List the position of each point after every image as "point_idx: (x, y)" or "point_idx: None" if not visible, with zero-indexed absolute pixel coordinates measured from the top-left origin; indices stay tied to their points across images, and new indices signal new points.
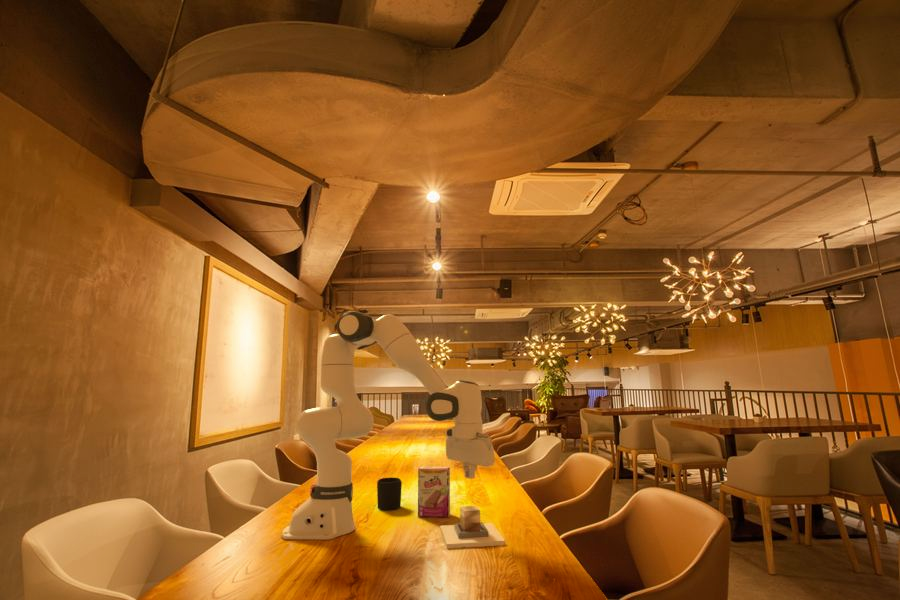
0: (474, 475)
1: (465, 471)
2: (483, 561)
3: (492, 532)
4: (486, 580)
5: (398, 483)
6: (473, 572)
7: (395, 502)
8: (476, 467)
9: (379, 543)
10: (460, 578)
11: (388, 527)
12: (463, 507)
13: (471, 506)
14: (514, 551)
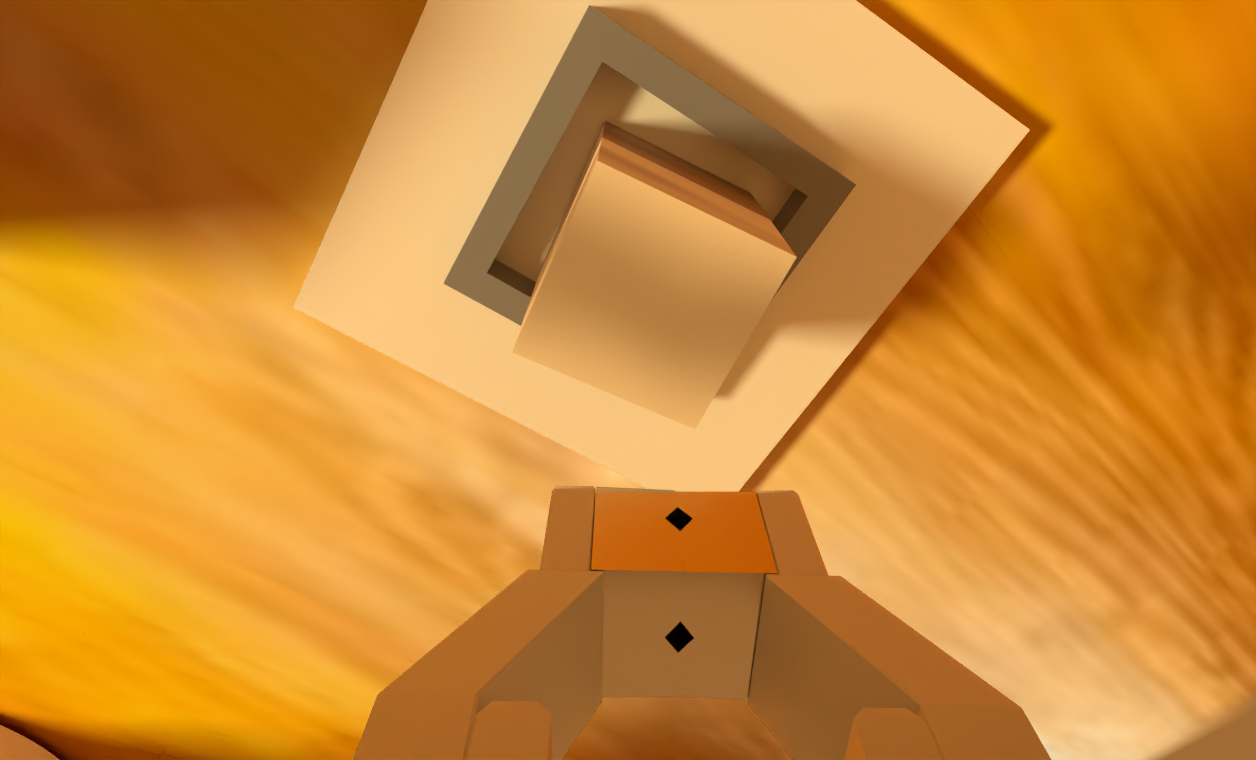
0: (807, 529)
1: (589, 705)
2: (1055, 467)
3: (790, 47)
4: (1216, 609)
5: None
6: (1096, 597)
7: None
8: (987, 707)
9: (348, 719)
10: (1080, 676)
11: (41, 555)
12: (560, 335)
13: (591, 227)
14: (1157, 172)
